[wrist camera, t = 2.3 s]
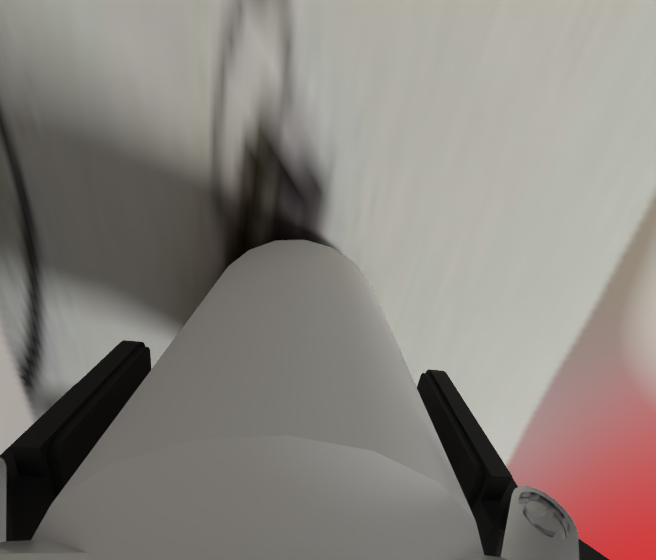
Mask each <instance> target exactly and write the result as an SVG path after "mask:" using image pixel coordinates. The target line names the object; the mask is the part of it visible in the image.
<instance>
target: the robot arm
mask: <svg viewBox="0 0 656 560" xmlns="http://www.w3.org/2000/svg"><path fill="white" fill-rule="evenodd" d="M150 371H151V359H150V349H149V348H148V347H145V344H144V343H143V342H135V341H122V342H120V343H119V344H118V345H117V346H116V347H115V348H114V349H113V350H112V351H111V352H110V353H109V354H108V355H107V356H106V357H105V358H104V359H102V360H101V361H100V362H99V363H98V364H97V365H96V366H95V367H94V368H93V369H92V370H91V371H90V372H89V373H88V374H87V375H86V376H85V377H83V378H82V379H81V380H80V381H79V382H78V383H77V384H75V385H74V386H73V387H72V388H71V389H70V390H69V391H68V392H67V393H66V394H65V395H64V396H63V397H62V398H60V399H59V400H58V401H57V402H56V403H55V404H54V405H53V406H52V407H51V408H50V409H49V410H48V411H47V412H46V413H45V414H44V415H42V416H41V417H40V418H39V419H38V420H37V421H36V422H35V423H34V424H33V425H32V426H31V427H30V428H29V429H28V430H27V431H25V433H23V434H22V435H21V436H20V437H19V438H18V439H17V440H16V441H15V442H14V443H13V444H12V445H11V446H10V447H9V448H8V449H6V450H5V451H4V452H3V453H2V454H1V455H0V560H91V559H90V557H89V555H88V553H86V552H84V551H81V550H79V549H76V548H74V547H71V546H68V545H66V544H62V543H58V542H53V541H51V540H31V539H32V538H33V536H34V534H35V532H36V530H37V529H38V527H39V525H40V523H41V522H42V520H43V518H44V516H45V515H46V513H47V511H48V509H49V507H50V506H51V504H52V503H53V501H54V500H55V499H56V497H57V496H58V495H59V493H60V492H61V491H62V489H63V488H64V487H65V485H66V484H67V483H68V481H69V480H70V479H71V477H72V476H73V474H74V473H75V472H76V470H77V469H78V468H79V466H80V465H81V464H82V462H83V461H84V460H85V458H86V457H87V456H88V454H89V453H90V452H91V450H92V449H93V448H94V446H95V445H96V444H97V442H98V441H99V439H100V438H101V437H102V435H103V434H104V433H105V431H106V430H107V429H108V427H109V426H110V425H111V423H112V422H113V421H114V419H115V418H116V417H117V415H118V414H119V413H120V411H121V410H122V409H123V407H124V406H125V405H126V403H127V402H128V400H129V399H130V398H131V396H132V395H133V394H134V392H135V391H136V390H137V388H138V387H139V386H140V384H141V383H142V382H143V380H144V379H145V378H146V376H147V375H148V374H149V372H150ZM417 390H418V392H419V394H420V397H421V399H422V401H423V403H424V406H425V408H426V410H427V412H428V415H429V417H430V419H431V421H432V424H433V426H434V428H435V430H436V433H437V435H438V437H439V439H440V442H441V444H442V446H443V448H444V451H445V453H446V455H447V457H448V460H449V462H450V464H451V467H452V469H453V471H454V473H455V476H456V478H457V480H458V482H459V485H460V487H461V489H462V491H463V494H464V496H465V498H466V500H467V503H468V505H469V507H470V509H471V512H472V514H473V516H474V518H475V521H476V524H477V528H478V532H479V536H480V540H481V544H482V548H483V552H484V555H478V554H470V555H468V556H464V557H460V558H457V559H454V560H609V559H607V558H606V557H604V556H603V555H601V554H600V553H598V552H597V551H596V550H594V549H593V548H591V547H590V546H588V545H587V544H585V543H584V542H582V541H581V540H580V539H578V533H577V528H576V526H575V524H574V522H573V520H572V518H571V517H570V516H569V514H568V513H567V512H566V511H565V509H564V508H563V507H562V506H560V504H559V503H558V502H557V501H555V500H554V499H553V498H551V497H550V496H549V495H547V494H546V493H544V492H542V491H540V490H538V489H536V488H532V487H528V486H519V487H518V486H517V485H516V483H515V482H514V480H513V478H512V475H511V474H510V472H509V471H508V469H507V468H506V466H505V464H504V463H503V461H502V460H501V458H500V457H499V455H498V453H497V452H496V450H495V449H494V447H493V446H492V444H491V443H490V441H489V439H488V438H487V436H486V435H485V433H484V432H483V430H482V428H481V427H480V425H479V424H478V422H477V421H476V419H475V417H474V416H473V414H472V413H471V411H470V410H469V408H468V406H467V405H466V403H465V402H464V400H463V399H462V397H461V395H460V394H459V392H458V391H457V389H456V388H455V386H454V385H453V383H452V381H451V380H450V378H449V377H448V375H447V374H446V372H444V371H438V370H427V371H426V373H423V374H422V375H421V377H420V380H419V383H418V386H417Z"/></svg>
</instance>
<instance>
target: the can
mask: <svg viewBox="0 0 656 560" xmlns="http://www.w3.org/2000/svg"><path fill="white" fill-rule="evenodd" d="M31 540H51V541H53V542H58V543H62V544H66V545H68V546H71V547H74V548H76V549H79V550H81V551H84V552H86V553H88V555H89V557H90V559H91V560H454V559H457V558H460V557H464V556H468V555H470V554H478V555H484V552H483V548H482V544H481V540H480V536H479V532H478V528H477V524H476V521H475V518H474V516H473V514H472V512H471V509H470V507H469V505H468V503H467V500H466V498H465V496H464V494H463V491H462V489H461V487H460V485H459V482H458V480H457V478H456V476H455V473H454V471H453V469H452V467H451V464H450V462H449V460H448V457H447V455H446V453H445V451H444V448H443V446H442V444H441V442H440V439H439V437H438V435H437V433H436V430H435V428H434V426H433V424H432V421H431V419H430V417H429V415H428V412H427V410H426V408H425V406H424V403H423V401H422V399H421V397H420V394H419V392H418V390H417V388H416V385H415V383H414V381H413V378H412V376H411V374H410V372H409V369H408V367H407V365H406V363H405V360H404V358H403V356H402V354H401V351H400V349H399V347H398V345H397V342H396V340H395V338H394V336H393V333H392V331H391V329H390V327H389V324H388V322H387V320H386V318H385V315H384V313H383V311H382V308H381V306H380V304H379V302H378V299H377V297H376V295H375V293H374V290H373V288H372V286H371V284H370V282H369V281H368V279H367V278H366V277H365V275H364V274H363V273H362V271H361V270H360V269H359V268H358V266H357V265H356V264H355V262H353V261H352V260H350V259H349V258H347V257H346V256H344V255H343V254H341V253H340V252H338V251H337V250H335V249H334V248H332V247H329V246H325V245H322V244H318V243H315V242H311V241H308V240H276V241H273V242H270V243H267V244H264V245H262V246H259V247H256V248H253V249H250V250H248V251H247V252H246V253H245V254H243V255H242V256H241V257H239V258H238V259H237V260H236V261H234V262H233V263H232V264H231V265H229V266H228V267H227V269H226V270H225V271H224V273H223V274H222V275H221V277H220V278H219V279H218V281H217V282H216V283H215V285H214V286H213V287H212V289H211V290H210V291H209V293H208V294H207V296H206V297H205V298H204V300H203V301H202V302H201V304H200V305H199V306H198V308H197V309H196V310H195V312H194V313H193V314H192V316H191V317H190V318H189V320H188V321H187V322H186V324H185V325H184V326H183V328H182V329H181V331H180V332H179V333H178V335H177V336H176V337H175V339H174V340H173V341H172V343H171V344H170V345H169V347H168V348H167V349H166V351H165V352H164V353H163V355H162V356H161V357H160V359H159V360H158V361H157V363H156V364H155V365H154V367H153V368H152V370H151V371H150V372H149V374H148V375H147V376H146V378H145V379H144V380H143V382H142V383H141V384H140V386H139V387H138V388H137V390H136V391H135V392H134V394H133V395H132V396H131V398H130V399H129V400H128V402H127V403H126V405H125V406H124V407H123V409H122V410H121V411H120V413H119V414H118V415H117V417H116V418H115V419H114V421H113V422H112V423H111V425H110V426H109V427H108V429H107V430H106V431H105V433H104V434H103V435H102V437H101V438H100V439H99V441H98V442H97V444H96V445H95V446H94V448H93V449H92V450H91V452H90V453H89V454H88V456H87V457H86V458H85V460H84V461H83V462H82V464H81V465H80V466H79V468H78V469H77V470H76V472H75V473H74V474H73V476H72V477H71V479H70V480H69V481H68V483H67V484H66V485H65V487H64V488H63V489H62V491H61V492H60V493H59V495H58V496H57V497H56V499H55V500H54V501H53V503H52V504H51V506H50V507H49V509H48V511H47V513H46V515H45V516H44V518H43V520H42V522H41V523H40V525H39V527H38V529H37V530H36V532H35V534H34V536H33V538H32V539H31Z"/></svg>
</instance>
